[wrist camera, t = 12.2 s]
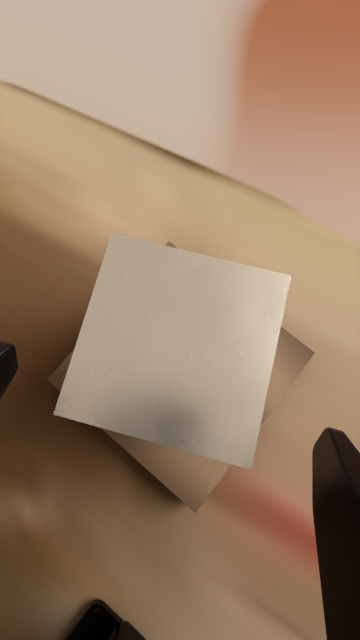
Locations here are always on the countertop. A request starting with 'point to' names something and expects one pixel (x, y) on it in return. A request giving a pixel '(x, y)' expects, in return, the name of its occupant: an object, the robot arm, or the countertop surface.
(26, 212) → the countertop surface
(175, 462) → the walnut block
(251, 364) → the cream tea tin
